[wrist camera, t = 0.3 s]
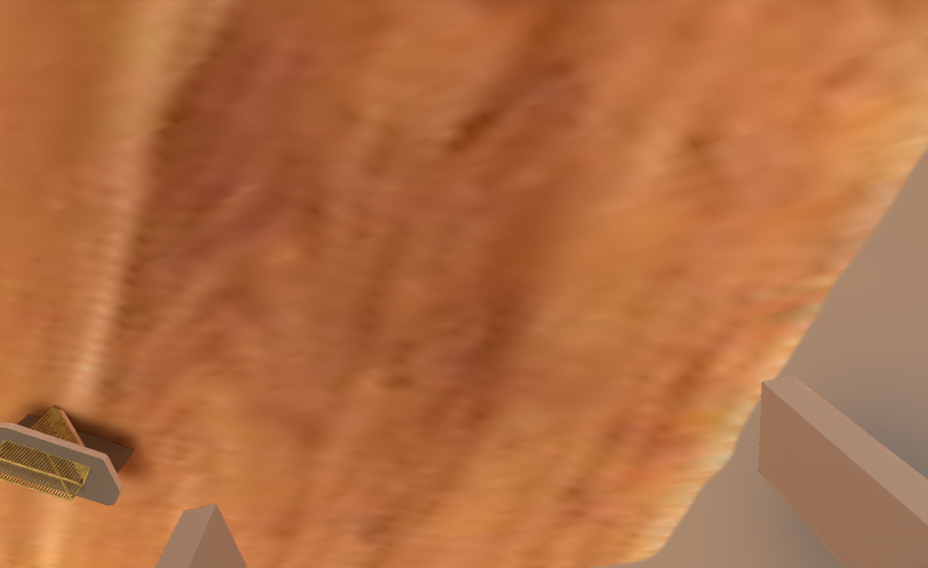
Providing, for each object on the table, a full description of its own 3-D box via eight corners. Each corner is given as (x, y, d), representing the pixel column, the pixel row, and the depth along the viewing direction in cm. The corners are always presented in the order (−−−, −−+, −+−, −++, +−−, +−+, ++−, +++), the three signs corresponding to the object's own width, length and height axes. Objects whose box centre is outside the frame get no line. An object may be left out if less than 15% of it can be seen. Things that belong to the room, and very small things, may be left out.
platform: (-18, 313, 38) (-98, 358, 32) (227, 406, 43) (199, 460, 37) (-57, 438, 41) (-137, 500, 35) (175, 511, 46) (141, 577, 40)
